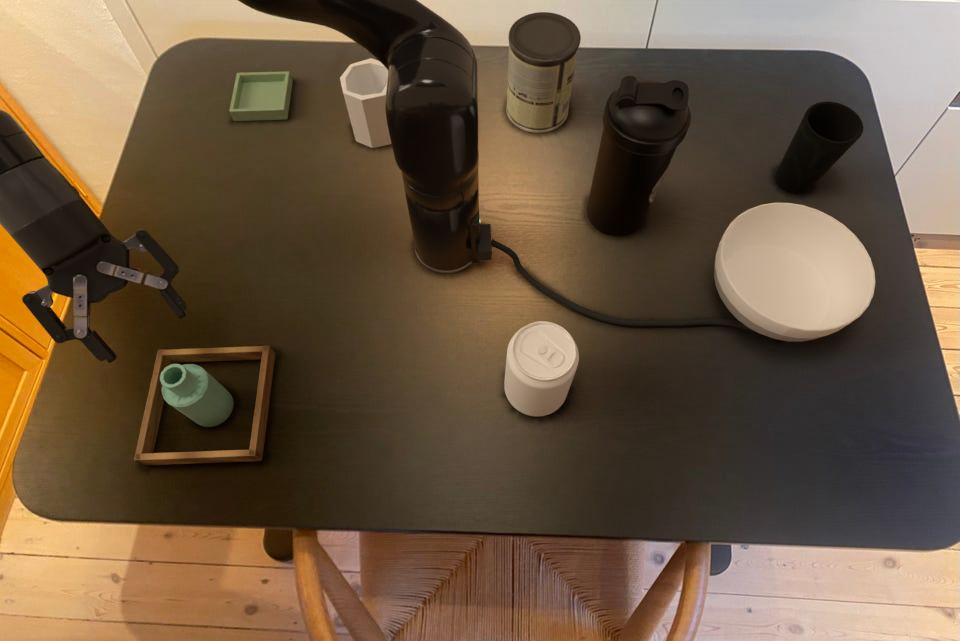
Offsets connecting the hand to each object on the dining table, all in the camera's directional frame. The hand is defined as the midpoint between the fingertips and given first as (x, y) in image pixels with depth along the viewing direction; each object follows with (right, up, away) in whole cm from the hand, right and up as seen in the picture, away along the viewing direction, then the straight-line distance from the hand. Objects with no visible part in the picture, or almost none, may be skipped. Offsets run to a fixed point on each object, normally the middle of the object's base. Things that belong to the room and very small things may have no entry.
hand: (149, 337), depth 69 cm
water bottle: (+58, +18, +21) cm, 64 cm away
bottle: (+4, -9, +8) cm, 12 cm away
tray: (+2, +38, +31) cm, 50 cm away
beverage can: (+45, -7, +9) cm, 46 cm away
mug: (+23, +33, +29) cm, 49 cm away
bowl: (+77, +5, +15) cm, 79 cm away
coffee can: (+47, +36, +30) cm, 67 cm away
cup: (+86, +23, +24) cm, 92 cm away
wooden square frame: (+4, -9, +8) cm, 12 cm away
